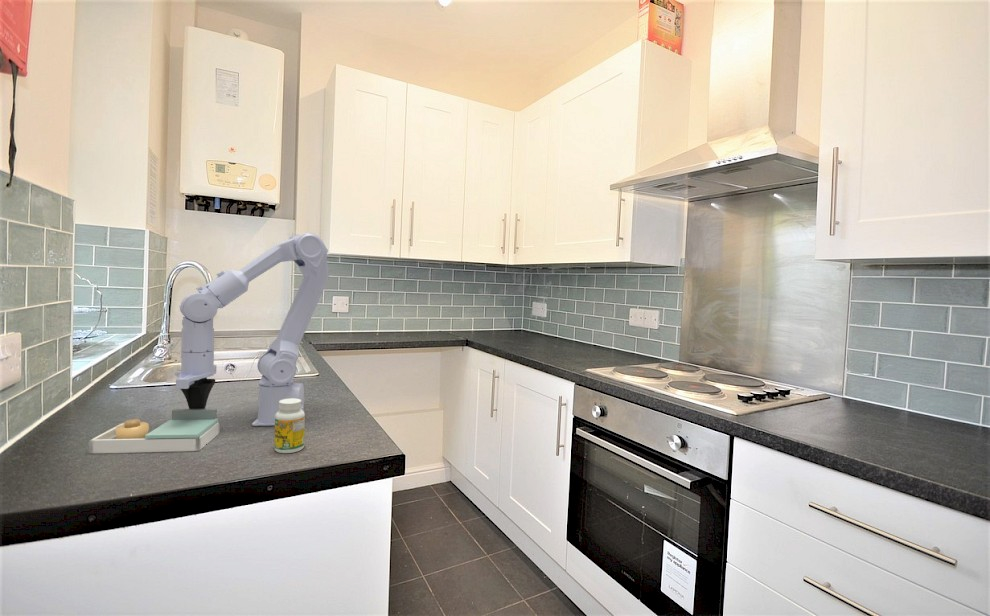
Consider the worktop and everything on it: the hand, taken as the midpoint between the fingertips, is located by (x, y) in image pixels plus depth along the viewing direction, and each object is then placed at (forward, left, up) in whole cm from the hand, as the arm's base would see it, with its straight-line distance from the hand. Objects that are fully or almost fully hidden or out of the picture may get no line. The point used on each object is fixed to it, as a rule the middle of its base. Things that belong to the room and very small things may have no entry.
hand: (197, 414), depth 97 cm
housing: (+4, +6, -4) cm, 8 cm away
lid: (0, +6, -1) cm, 6 cm away
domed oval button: (+9, +6, -4) cm, 11 cm away
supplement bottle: (-21, +11, -4) cm, 24 cm away
